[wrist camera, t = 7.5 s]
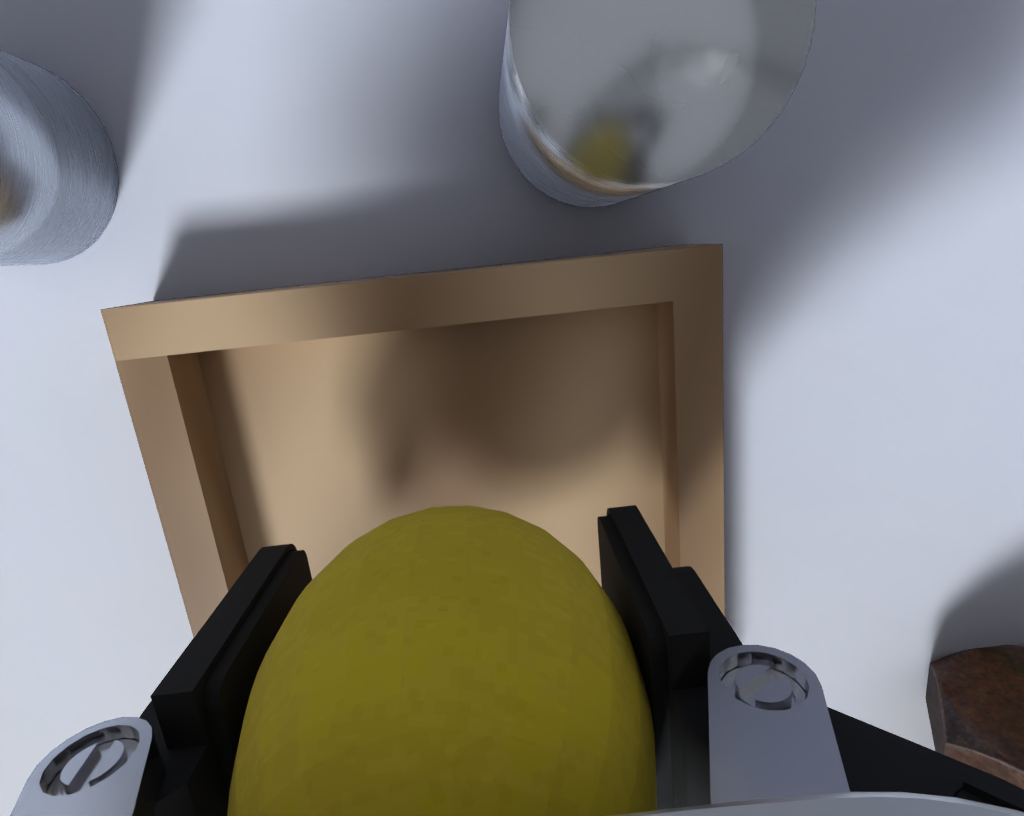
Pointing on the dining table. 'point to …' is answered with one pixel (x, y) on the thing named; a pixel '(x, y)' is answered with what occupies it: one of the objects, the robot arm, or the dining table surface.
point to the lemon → (449, 683)
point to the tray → (433, 408)
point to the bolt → (980, 709)
